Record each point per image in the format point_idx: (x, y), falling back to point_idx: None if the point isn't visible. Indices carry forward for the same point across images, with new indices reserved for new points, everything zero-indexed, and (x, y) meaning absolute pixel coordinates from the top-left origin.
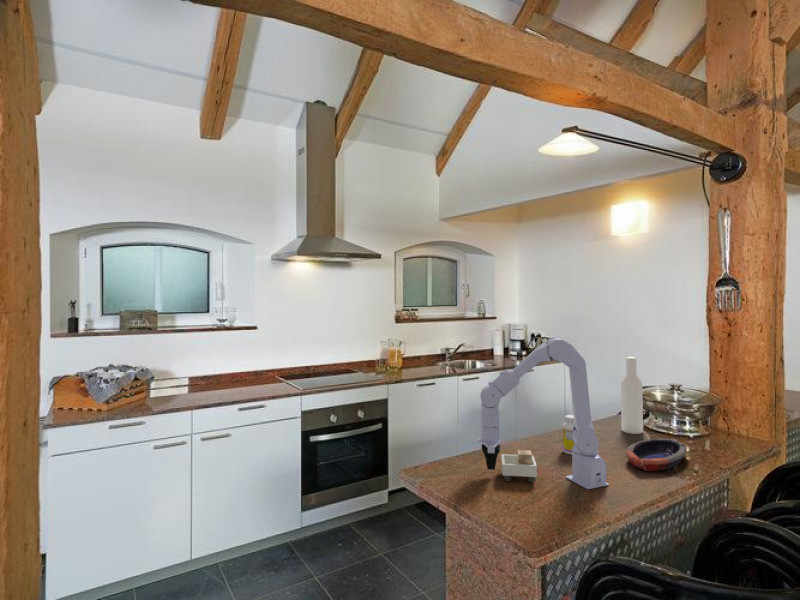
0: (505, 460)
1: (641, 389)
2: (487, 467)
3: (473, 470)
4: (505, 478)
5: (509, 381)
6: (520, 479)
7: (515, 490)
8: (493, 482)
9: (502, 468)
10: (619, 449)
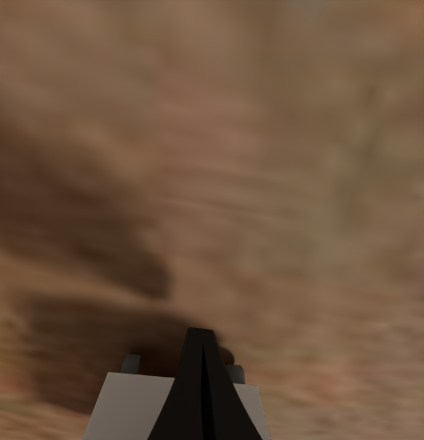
0: None
1: None
2: (187, 335)
3: (289, 244)
4: (123, 363)
5: None
6: None
7: (41, 364)
8: (122, 305)
9: (90, 417)
10: None
